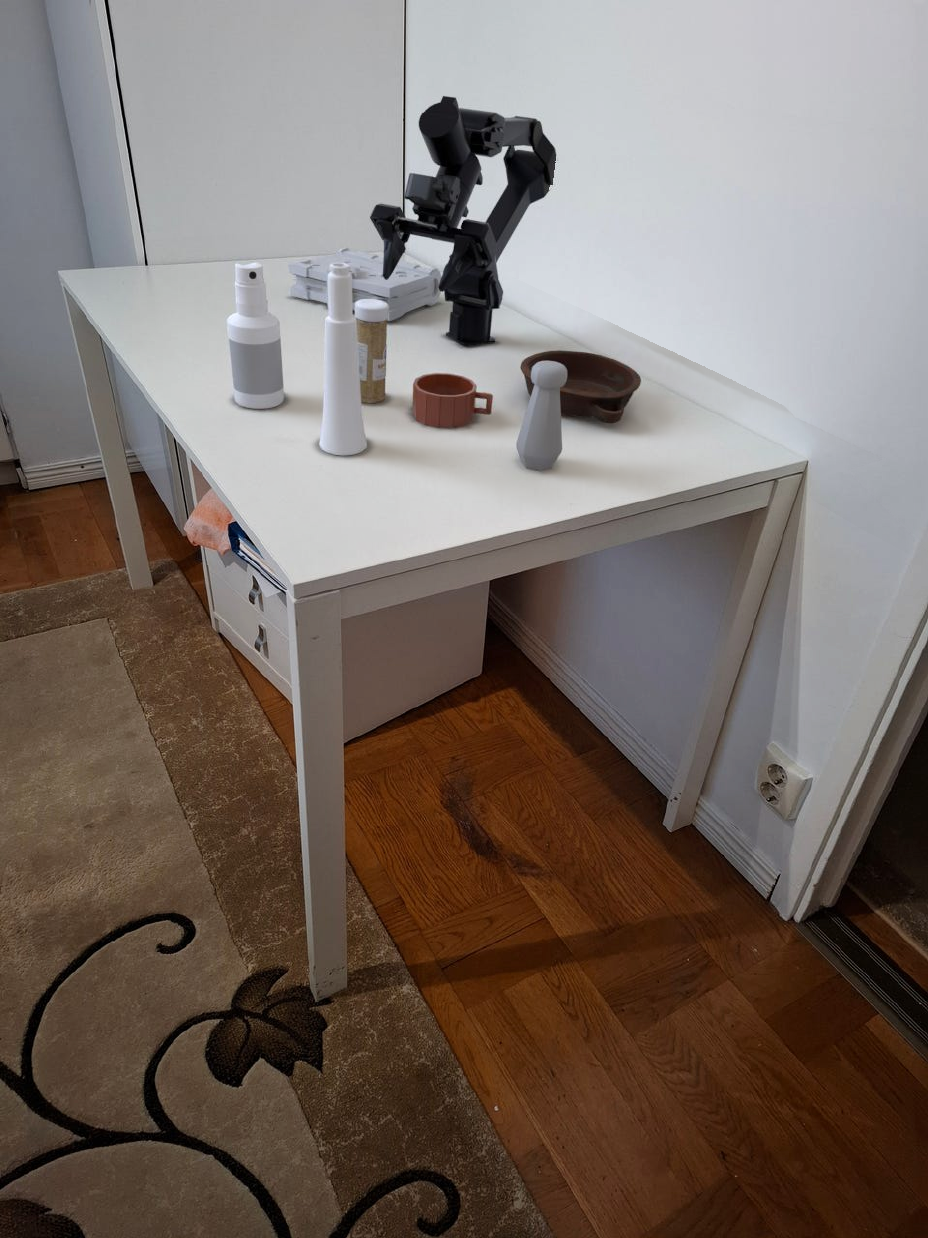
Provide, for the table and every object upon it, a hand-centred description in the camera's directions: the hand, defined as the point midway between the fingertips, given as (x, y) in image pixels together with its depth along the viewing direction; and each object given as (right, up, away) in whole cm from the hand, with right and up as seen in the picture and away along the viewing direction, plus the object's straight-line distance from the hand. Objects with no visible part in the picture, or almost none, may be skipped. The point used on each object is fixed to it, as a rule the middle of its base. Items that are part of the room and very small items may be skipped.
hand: (412, 283), depth 119 cm
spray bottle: (-21, -18, -4) cm, 28 cm away
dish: (+24, -16, +4) cm, 29 cm away
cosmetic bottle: (-8, -26, -13) cm, 31 cm away
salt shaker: (+17, -29, -14) cm, 36 cm away
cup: (+6, -20, -3) cm, 21 cm away
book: (-13, +13, +39) cm, 43 cm away
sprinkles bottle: (-6, -17, 0) cm, 18 cm away
